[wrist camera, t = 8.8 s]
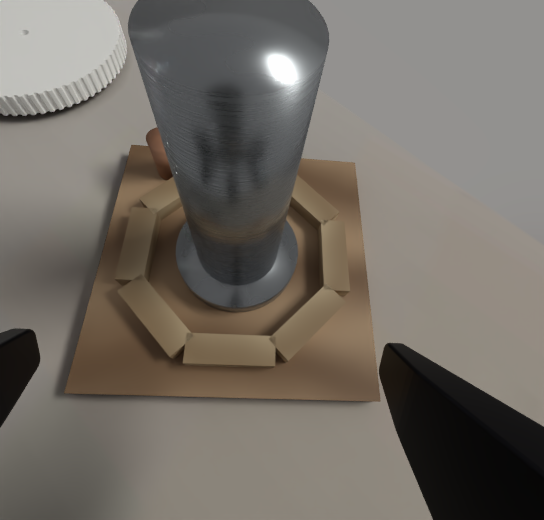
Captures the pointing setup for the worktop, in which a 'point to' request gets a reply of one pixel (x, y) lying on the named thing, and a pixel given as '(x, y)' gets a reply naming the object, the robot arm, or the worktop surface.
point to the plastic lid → (56, 53)
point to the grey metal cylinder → (232, 133)
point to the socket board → (220, 324)
